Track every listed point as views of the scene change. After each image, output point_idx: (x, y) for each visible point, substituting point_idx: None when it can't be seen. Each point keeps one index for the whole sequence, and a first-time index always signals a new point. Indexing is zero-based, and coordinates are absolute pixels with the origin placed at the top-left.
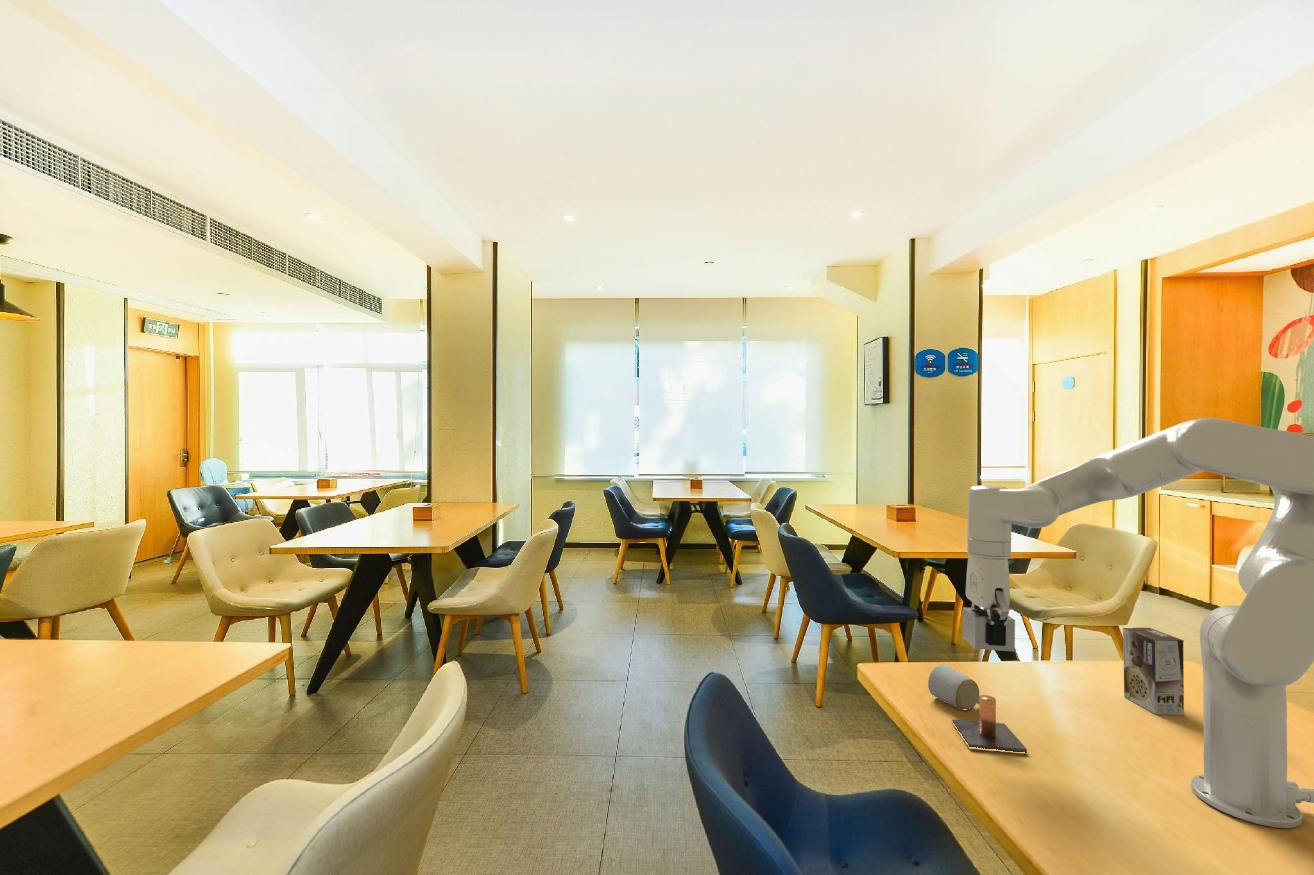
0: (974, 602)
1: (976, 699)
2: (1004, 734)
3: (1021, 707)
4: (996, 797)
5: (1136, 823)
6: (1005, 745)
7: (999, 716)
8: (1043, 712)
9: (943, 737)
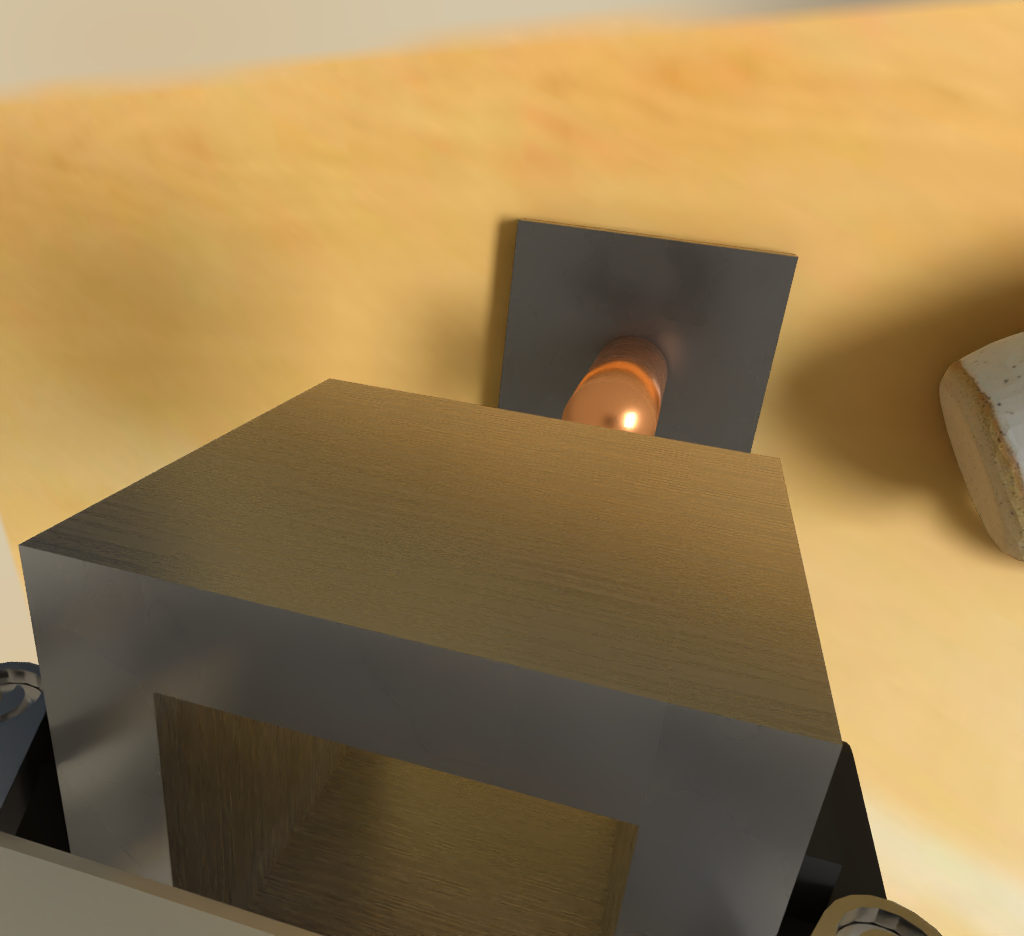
0: (117, 920)
1: (980, 509)
2: None
3: (960, 723)
4: (173, 147)
5: None
6: (516, 393)
7: (869, 560)
8: (891, 779)
9: (647, 132)
